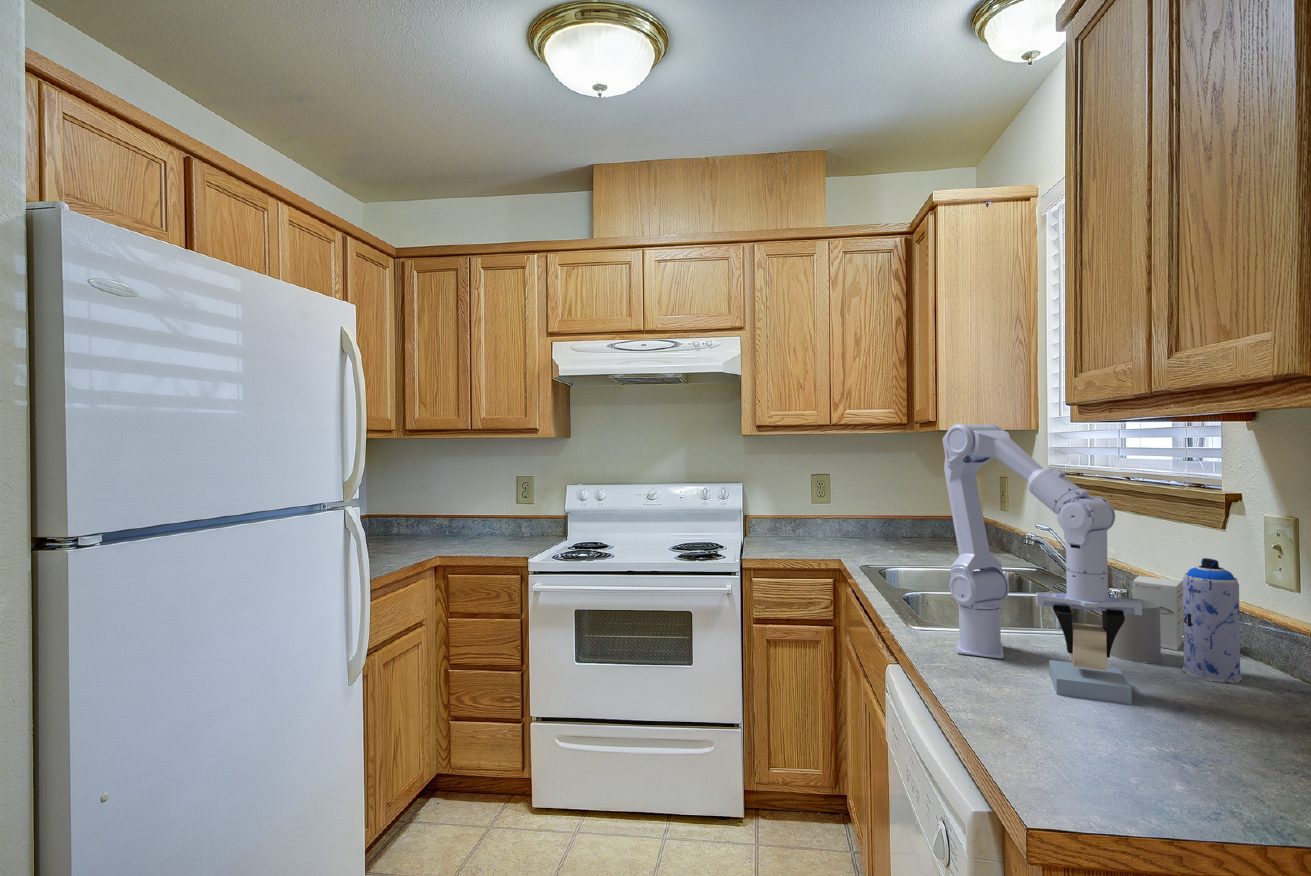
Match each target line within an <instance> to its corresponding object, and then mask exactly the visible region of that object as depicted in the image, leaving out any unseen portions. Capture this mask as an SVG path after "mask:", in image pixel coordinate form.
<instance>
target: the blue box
mask: <svg viewBox="0 0 1311 876" xmlns="http://www.w3.org/2000/svg"><path fill="white" fill-rule="evenodd" d="M1048 662H1049V663H1048V669H1049V677H1050V679H1051V680H1050V681H1051V683H1052V685H1053V689H1054V691H1055V694H1056V695H1057V696H1064V697H1071V698H1072V697H1073V698H1078V697H1079V699H1088V700H1094V701H1103V702H1108V701H1109V702H1111V703H1117V704H1123V705H1124V704H1125V705H1132V704H1133V694H1132V693H1133V692H1132V691H1133V690H1132V686H1131V685H1130V683H1129V681H1128V680H1127V678H1126V677H1125V675H1123V673H1122V671H1121V670H1120V668H1119V667H1118V666H1117V667H1116V666H1108V665H1107V670H1099V669H1091V668H1082V667H1074V666H1073V663H1072V661H1071V662H1070V661H1063V660H1052V659H1049V661H1048Z"/></svg>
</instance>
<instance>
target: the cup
mask: <svg viewBox="0 0 1311 876" xmlns="http://www.w3.org/2000/svg"><path fill="white" fill-rule="evenodd" d="M1113 598H1120V599H1127V600H1136V601H1140V602H1141V603H1142V615H1134V614H1132V613H1124V616H1125V621H1124V623H1123V625H1122V626H1121V628H1120V629H1119V631H1118V633H1117V635H1116V637H1115V639H1114V642H1113V644H1112V648H1111V652H1110V657H1113V658H1116V659H1119V660H1123V661H1128V662H1132V663H1133V662H1134V663H1142V662H1155V663H1158V661H1159V662H1161V661H1160V660H1162V654H1161V652H1162V651H1161V650H1162V647H1161V636H1160V605H1159V604H1157V603H1155V602H1152V601H1147V600H1142V599H1135V598H1133V597H1124V596H1123V597H1121V596H1116V597H1113Z"/></svg>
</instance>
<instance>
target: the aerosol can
mask: <svg viewBox="0 0 1311 876" xmlns="http://www.w3.org/2000/svg"><path fill="white" fill-rule="evenodd" d="M1200 564H1201V565H1197V566H1195V567H1192V568H1190V569H1189V570H1187V572H1186V573H1184V574H1183V578H1182V581H1183V666H1182V672H1183V671H1184V672H1185V674H1186V673H1187V674H1186V675H1188V676H1190V675H1191V677H1192V676H1194V677H1193V678H1195V677H1197V678H1196V679H1199V680H1203V681H1207V680H1212V681H1218V682H1217V683H1219V682H1238V683H1240V682H1239V681H1240V680H1242V679H1243V678H1242V675H1241V645H1240V644H1241V640H1240V639H1241V637H1240V636H1241V635H1240V633H1241V632H1240V631H1241V629H1240V626H1241V625H1240V584H1239V582H1238V581H1239V580H1238V578H1237V577H1235V576H1234V575H1233V574H1232V572H1230V571H1229V570H1226V569H1225V568H1224V567H1220V565H1219V560H1216V559H1213V558H1208V557H1207V558H1205V557H1204V558H1201V561H1200ZM1212 681H1211V682H1212ZM1242 681H1243V680H1242Z"/></svg>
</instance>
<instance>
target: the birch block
mask: <svg viewBox="0 0 1311 876" xmlns="http://www.w3.org/2000/svg"><path fill="white" fill-rule="evenodd" d="M1072 640H1073V654H1072V653H1069V654H1070V656H1069V657H1070V661H1071V662H1072V663H1073V666H1074V667H1082V668H1091V669H1099V670H1107V666H1108V664H1107V661H1108V660H1107V659H1108V657H1107V643H1106V632H1105V630H1104V628H1103V625H1098V624H1089V623H1088V624H1087V623H1079V622H1078V623H1077V622H1072Z"/></svg>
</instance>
